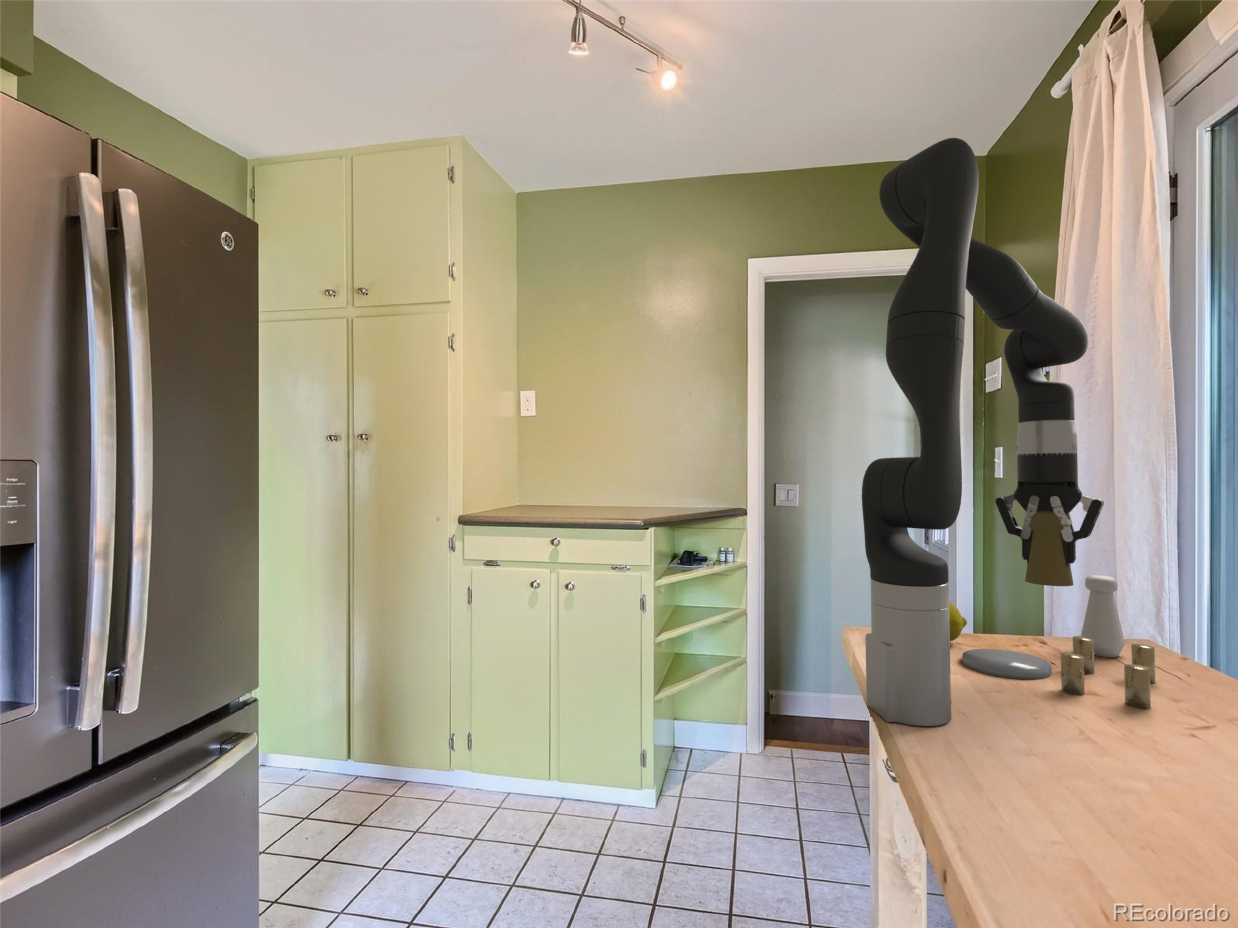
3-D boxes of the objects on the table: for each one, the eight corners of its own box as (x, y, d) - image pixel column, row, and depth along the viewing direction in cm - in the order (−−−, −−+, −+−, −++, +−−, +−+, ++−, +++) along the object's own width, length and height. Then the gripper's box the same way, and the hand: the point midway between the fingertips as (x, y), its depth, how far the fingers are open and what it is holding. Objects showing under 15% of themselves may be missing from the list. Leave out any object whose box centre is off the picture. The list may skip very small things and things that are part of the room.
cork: (1081, 586, 89) (1080, 511, 89) (1035, 585, 90) (1033, 511, 90) (1062, 579, 95) (1060, 509, 95) (1018, 578, 96) (1017, 508, 96)
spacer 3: (1142, 683, 89) (1142, 648, 89) (1127, 677, 91) (1126, 643, 91) (1160, 682, 89) (1159, 648, 89) (1144, 676, 91) (1143, 643, 91)
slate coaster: (992, 679, 91) (992, 673, 91) (947, 655, 103) (947, 649, 103) (1071, 677, 91) (1071, 671, 91) (1017, 653, 103) (1016, 647, 103)
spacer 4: (1136, 709, 79) (1135, 670, 79) (1119, 701, 82) (1118, 664, 82) (1156, 708, 79) (1155, 670, 79) (1138, 701, 82) (1137, 663, 82)
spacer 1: (1071, 694, 85) (1070, 658, 85) (1057, 688, 87) (1056, 653, 87) (1089, 694, 85) (1088, 658, 85) (1074, 687, 87) (1074, 652, 87)
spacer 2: (1082, 673, 93) (1081, 640, 93) (1069, 668, 96) (1068, 636, 96) (1098, 673, 93) (1098, 640, 93) (1085, 667, 96) (1084, 635, 96)
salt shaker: (1127, 660, 99) (1125, 580, 99) (1083, 655, 102) (1081, 577, 102) (1121, 651, 104) (1119, 574, 104) (1079, 646, 107) (1077, 572, 107)
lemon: (967, 640, 112) (966, 596, 112) (967, 651, 105) (966, 605, 105) (902, 633, 117) (901, 591, 117) (898, 643, 110) (897, 599, 110)
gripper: (1109, 451, 90) (1111, 567, 90) (999, 453, 101) (1001, 558, 100) (1102, 449, 85) (1104, 573, 85) (986, 452, 95) (988, 562, 95)
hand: (1048, 564), depth 93 cm, fingers closed on cork, 4 cm apart
